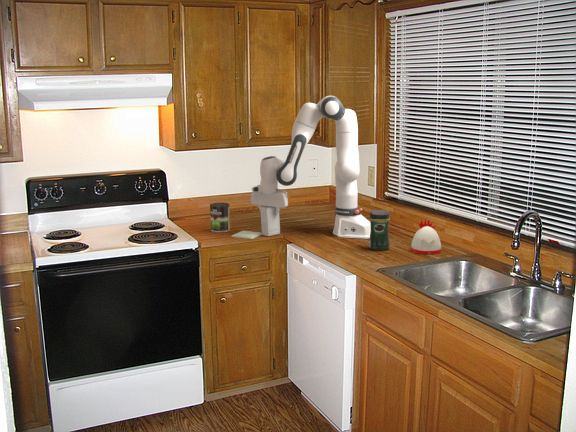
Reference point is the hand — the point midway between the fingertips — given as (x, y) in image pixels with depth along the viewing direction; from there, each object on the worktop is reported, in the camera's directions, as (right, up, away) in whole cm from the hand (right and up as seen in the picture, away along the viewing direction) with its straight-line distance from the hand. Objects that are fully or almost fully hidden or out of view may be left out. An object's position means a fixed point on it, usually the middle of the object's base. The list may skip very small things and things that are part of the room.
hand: (269, 214), depth 336 cm
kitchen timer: (+74, -17, -30) cm, 82 cm away
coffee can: (-27, -9, +14) cm, 31 cm away
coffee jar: (+53, -16, -26) cm, 61 cm away
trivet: (-12, -11, +2) cm, 16 cm away
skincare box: (+1, -11, +2) cm, 11 cm away
